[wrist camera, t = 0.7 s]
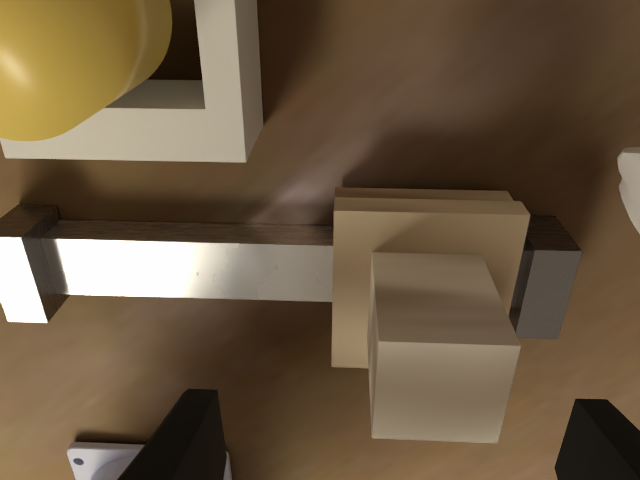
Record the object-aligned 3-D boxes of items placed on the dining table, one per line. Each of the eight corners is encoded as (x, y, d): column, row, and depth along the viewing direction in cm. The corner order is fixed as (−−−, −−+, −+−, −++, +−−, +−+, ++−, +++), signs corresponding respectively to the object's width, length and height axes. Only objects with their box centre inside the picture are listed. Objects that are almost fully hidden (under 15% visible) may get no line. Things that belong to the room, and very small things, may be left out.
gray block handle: (535, 297, 21) (557, 338, 19) (42, 283, 22) (7, 321, 20) (555, 216, 19) (582, 251, 17) (17, 204, 20) (-23, 236, 18)
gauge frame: (263, 125, 18) (245, 162, 15) (62, 122, 18) (5, 158, 15) (247, -167, 14) (220, -198, 11) (-7, -165, 14) (-102, -195, 11)
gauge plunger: (181, 93, 14) (125, 143, 10) (32, 91, 14) (-73, 139, 10) (159, -87, 12) (80, -101, 8) (-15, -87, 12) (-162, -100, 9)
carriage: (481, 329, 21) (532, 479, 15) (333, 324, 22) (327, 470, 16) (508, 182, 18) (587, 299, 12) (335, 179, 19) (329, 291, 13)
